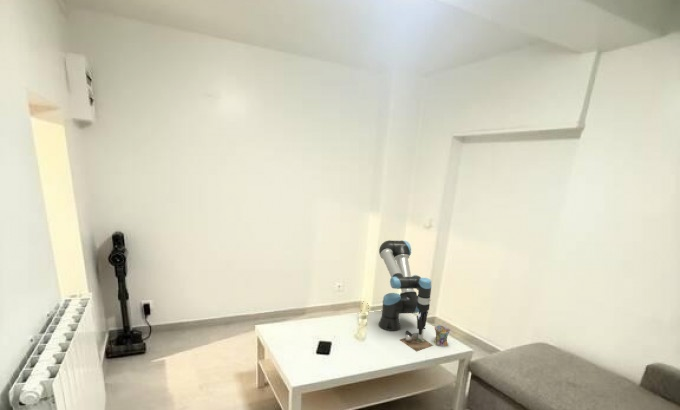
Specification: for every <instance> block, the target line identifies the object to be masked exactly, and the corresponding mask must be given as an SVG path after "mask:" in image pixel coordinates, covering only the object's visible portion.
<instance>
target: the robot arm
mask: <svg viewBox="0 0 680 410" xmlns="http://www.w3.org/2000/svg"><path fill="white" fill-rule="evenodd" d="M378 252H379V256H380V258H381V259H382V261H383V262H384V265H385V266H386V268H387V271H388V273H389V275H390V277H391V278H390V281H389V284H390V287H391V288H392V289H396V290H401V292H400V293H396V292H390V293H389V292H388V293H386V294H384V296H383V298H382V299H383V300H382V309H381V317H380V320H379V321H378V327H379V328H380V329H381V330H383V331H385V332H397V331H400V330H401V328H402V325H401V321H400V315H401V314H411V315H413V314H418V315H417V316H416V323H417V324H416V327H417V330H418V331H417V332H418V338H419V339H421V340H422V339H424V332H425V331H424V330H426V325H427V324H426V323H427V320H428V319H427V318H428V314H429V310H430V304H431V300H432V299H431V294H432V280H431V279H430V278H427V277H421V276H419V275H418V274H413V275H411V269H410V264H409V259H410V256H411V254H412V246H411V244H410V243H409V241H406V240H392V239H391V240H390V239H389V240H385V241H383V243H381V245H380V246H379V250H378ZM414 289H416V291H415V290H414Z"/></svg>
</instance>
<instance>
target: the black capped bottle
mask: <svg viewBox="0 0 680 410" xmlns="http://www.w3.org/2000/svg"><path fill="white" fill-rule="evenodd" d="M418 332H419V331H416V332H414V333H413V332H410V331H409V330H406V331H405V337H404V338H405V341H406V342H411V341H413V340H417V339H419V338H418Z"/></svg>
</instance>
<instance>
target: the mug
mask: <svg viewBox="0 0 680 410" xmlns="http://www.w3.org/2000/svg"><path fill="white" fill-rule="evenodd" d="M434 330H435V339H434V341H433V343H434V344H435V345H436V346H438V347H442V348H446V347H447V346H449V343H448V335H449V334H450V332H451V330H450V328H449V327H447V326H444V325H435V326H434Z"/></svg>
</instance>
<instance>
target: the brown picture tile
mask: <svg viewBox="0 0 680 410" xmlns="http://www.w3.org/2000/svg"><path fill="white" fill-rule="evenodd" d="M399 341H400V342H402V343H403V344H405V345H406V346H407V347H409V348H410V349H412V350H413V351H415V352H419V351H421V350H425V349H428V348H430V347H433V346H434V344H432V343H430V342H429V341H427V340H426V339H424V338H423V339H422V340H421V339H417V340H413V341H411V342H406V341H405V337H404V338H400V339H399Z"/></svg>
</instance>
